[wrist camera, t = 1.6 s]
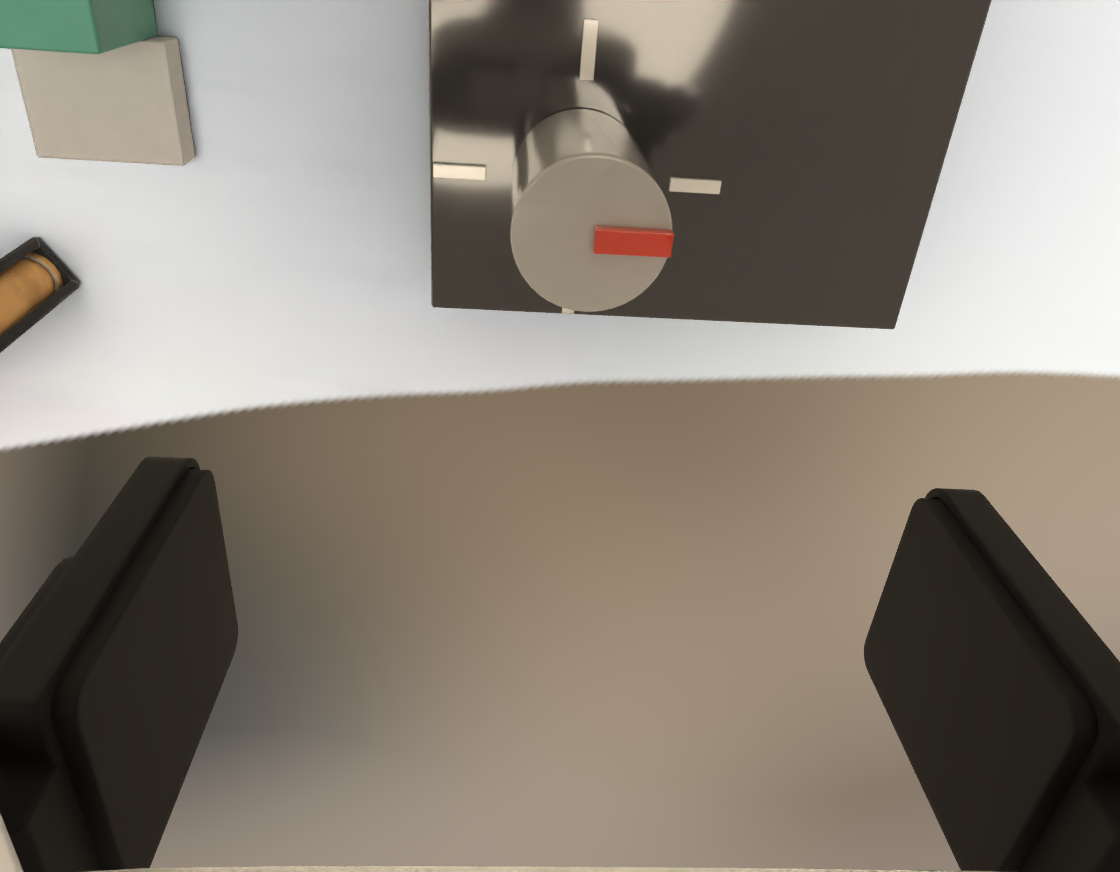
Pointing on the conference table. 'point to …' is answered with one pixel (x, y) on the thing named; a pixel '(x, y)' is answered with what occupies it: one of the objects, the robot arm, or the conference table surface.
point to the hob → (709, 142)
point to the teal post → (98, 80)
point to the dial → (587, 213)
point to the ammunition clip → (30, 288)
